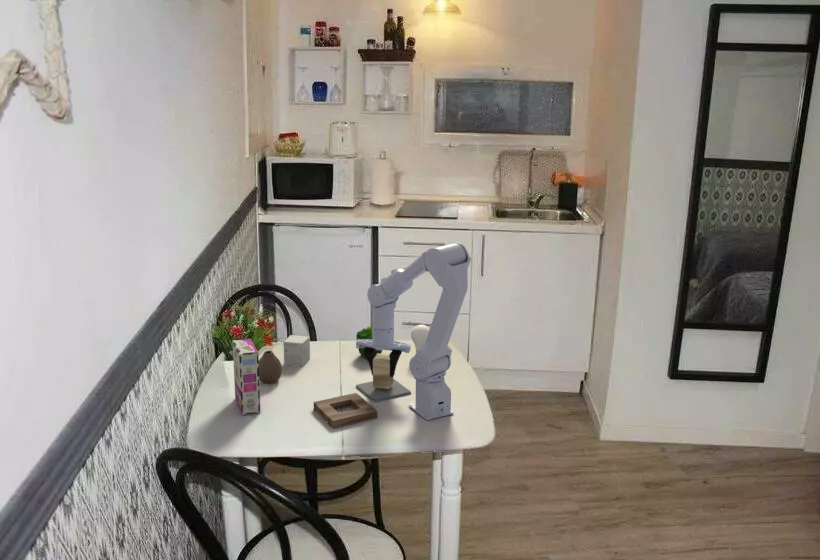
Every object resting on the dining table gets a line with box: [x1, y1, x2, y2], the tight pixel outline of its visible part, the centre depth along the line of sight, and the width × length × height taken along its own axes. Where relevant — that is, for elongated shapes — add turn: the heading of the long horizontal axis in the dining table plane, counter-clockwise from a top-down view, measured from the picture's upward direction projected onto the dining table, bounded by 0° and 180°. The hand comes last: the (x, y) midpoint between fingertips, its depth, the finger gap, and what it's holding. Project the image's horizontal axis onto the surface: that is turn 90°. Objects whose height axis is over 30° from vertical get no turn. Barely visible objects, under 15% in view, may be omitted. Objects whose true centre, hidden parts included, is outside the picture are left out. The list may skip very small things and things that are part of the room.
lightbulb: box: [410, 324, 430, 353], centre depth 223 cm, size 6×6×11 cm
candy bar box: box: [232, 338, 261, 416], centre depth 191 cm, size 11×5×16 cm, turn 22°
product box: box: [283, 334, 311, 367], centre depth 221 cm, size 6×6×7 cm
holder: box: [313, 392, 378, 429], centre depth 189 cm, size 12×12×2 cm
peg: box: [372, 353, 394, 389], centre depth 202 cm, size 4×4×8 cm
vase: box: [259, 350, 283, 385], centre depth 207 cm, size 7×7×9 cm
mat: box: [355, 378, 412, 403], centre depth 203 cm, size 11×11×1 cm
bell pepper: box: [355, 325, 383, 359], centre depth 226 cm, size 8×8×10 cm
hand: (383, 374), depth 202 cm, fingers closed on peg, 4 cm apart
